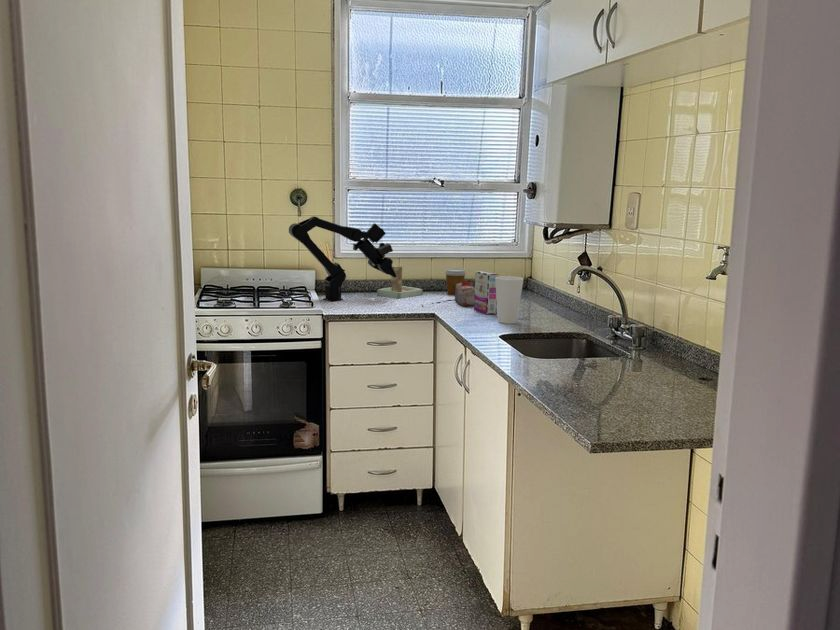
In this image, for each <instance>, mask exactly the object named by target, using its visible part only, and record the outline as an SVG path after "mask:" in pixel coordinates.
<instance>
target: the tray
mask: <svg viewBox="0 0 840 630" xmlns="http://www.w3.org/2000/svg"><path fill="white" fill-rule="evenodd" d="M402 289H403V290H409V291H404V292H394V291H391V286H390V287H383V288H379V289H378V288H377V290H376V291H377V292H376V295H377V296H381V297H387V298H393V299H405V298H411V297H418V296H422V295H423V291H424V290H423V289H422V288H418V287H411V286H405V285H404V286H403V285H402Z"/></svg>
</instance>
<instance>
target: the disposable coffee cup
mask: <svg viewBox="0 0 840 630" xmlns="http://www.w3.org/2000/svg"><path fill="white" fill-rule="evenodd" d="M466 273H467V272H466V269H461V268H447V269H446V270H445V272H444V274H445V278H446V279H445V280H446V291H447V295H450V296H455V287H456V284H458V283H463V282H465V276H466Z"/></svg>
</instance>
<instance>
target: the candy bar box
mask: <svg viewBox="0 0 840 630" xmlns="http://www.w3.org/2000/svg"><path fill="white" fill-rule="evenodd" d="M497 276H499V273H495V272H490V271H486V270H476V271H475V277H474V288H475V295H474V306H473V311H475V310H476V311H475V312H478V313H481V314H483V315H496V314H497V315H498V313H497V297H496V282H495V278H496V277H497Z"/></svg>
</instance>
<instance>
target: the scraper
mask: <svg viewBox="0 0 840 630" xmlns="http://www.w3.org/2000/svg"><path fill="white" fill-rule="evenodd" d="M392 268H393V270H394V272H395V274H396V277H393V276H391V279H390V280H391V281H390V284H391V285H390V287H391V291H394V292H402V286H403V285H402V283H403V266H402V265H401V266H400V265H392Z"/></svg>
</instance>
